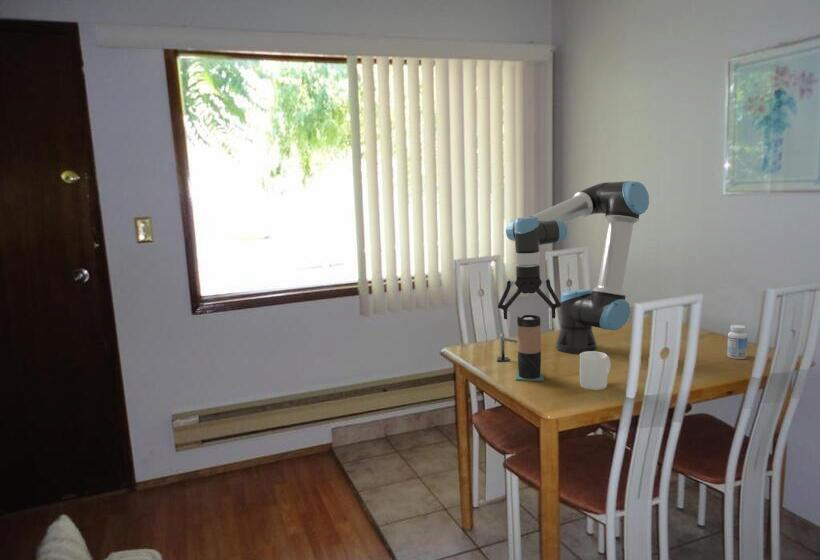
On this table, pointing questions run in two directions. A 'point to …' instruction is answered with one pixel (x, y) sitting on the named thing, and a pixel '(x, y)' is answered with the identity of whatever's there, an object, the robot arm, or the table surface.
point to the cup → (594, 370)
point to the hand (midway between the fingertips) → (529, 328)
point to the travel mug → (529, 346)
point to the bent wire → (503, 358)
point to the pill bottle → (737, 342)
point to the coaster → (529, 379)
